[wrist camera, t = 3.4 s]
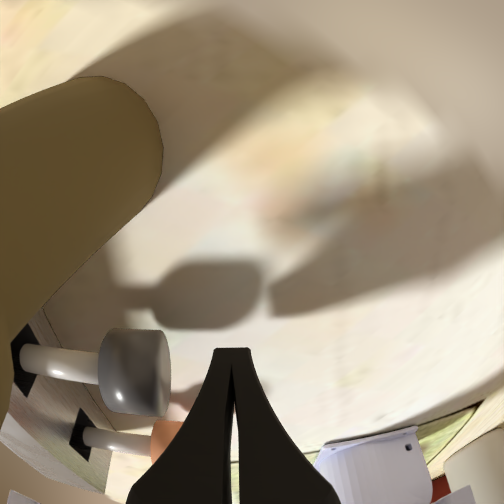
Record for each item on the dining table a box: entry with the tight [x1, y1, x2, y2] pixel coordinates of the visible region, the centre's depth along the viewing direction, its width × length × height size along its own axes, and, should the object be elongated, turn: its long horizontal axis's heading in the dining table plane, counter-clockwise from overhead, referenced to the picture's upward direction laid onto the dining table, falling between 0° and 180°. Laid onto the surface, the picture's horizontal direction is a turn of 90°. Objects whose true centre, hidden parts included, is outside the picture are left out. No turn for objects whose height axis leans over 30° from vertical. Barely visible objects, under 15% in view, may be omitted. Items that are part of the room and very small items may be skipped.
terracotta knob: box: [83, 420, 184, 465], centre depth 15 cm, size 7×4×4 cm, turn 90°
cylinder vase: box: [443, 428, 504, 504], centre depth 23 cm, size 12×12×25 cm
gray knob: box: [19, 328, 171, 417], centre depth 11 cm, size 7×4×4 cm, turn 90°
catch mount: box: [0, 307, 115, 494], centre depth 13 cm, size 6×18×6 cm, turn 0°
